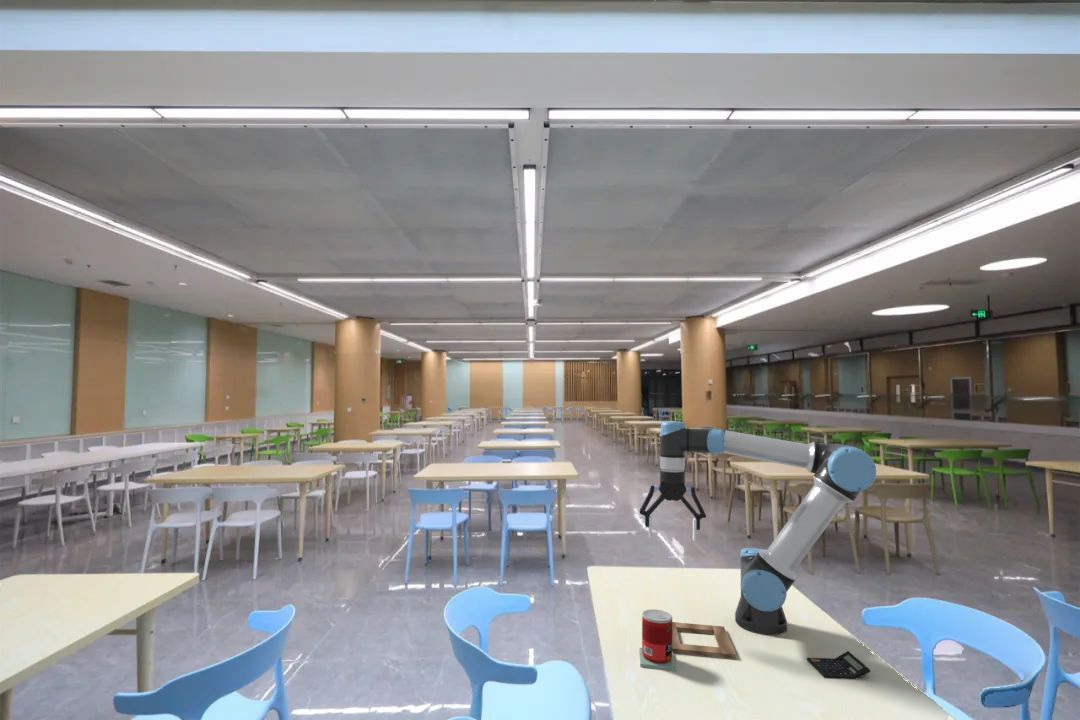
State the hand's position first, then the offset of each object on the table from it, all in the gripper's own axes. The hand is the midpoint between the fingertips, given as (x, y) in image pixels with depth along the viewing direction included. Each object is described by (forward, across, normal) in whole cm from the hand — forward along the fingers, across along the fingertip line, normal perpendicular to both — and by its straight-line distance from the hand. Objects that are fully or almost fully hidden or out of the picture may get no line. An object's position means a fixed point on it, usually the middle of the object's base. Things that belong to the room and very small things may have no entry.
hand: (672, 539), depth 162 cm
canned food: (+26, +6, +22) cm, 35 cm away
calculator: (+27, -41, +17) cm, 52 cm away
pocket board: (+27, -6, +8) cm, 29 cm away
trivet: (+27, +6, +22) cm, 35 cm away
